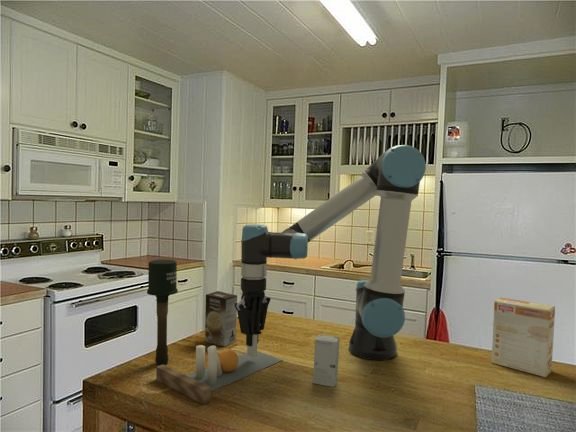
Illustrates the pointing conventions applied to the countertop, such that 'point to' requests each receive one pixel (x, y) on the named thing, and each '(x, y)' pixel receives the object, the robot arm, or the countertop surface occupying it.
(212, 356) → the pin
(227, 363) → the ball
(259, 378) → the countertop surface
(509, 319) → the coffeecake box
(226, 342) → the coffee box
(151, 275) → the potato masher grenade
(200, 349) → the pin
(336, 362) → the skincare box
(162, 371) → the back wall
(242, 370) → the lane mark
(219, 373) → the front pin
